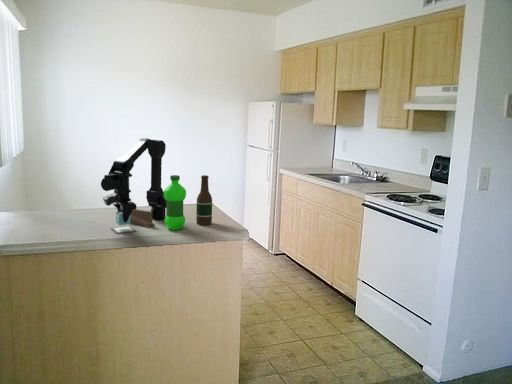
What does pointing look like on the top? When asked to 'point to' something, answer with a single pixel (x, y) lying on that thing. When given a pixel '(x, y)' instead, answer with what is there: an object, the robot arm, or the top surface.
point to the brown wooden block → (141, 217)
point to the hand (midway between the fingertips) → (123, 221)
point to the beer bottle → (204, 204)
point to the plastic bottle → (174, 204)
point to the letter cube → (121, 219)
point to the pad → (123, 229)
